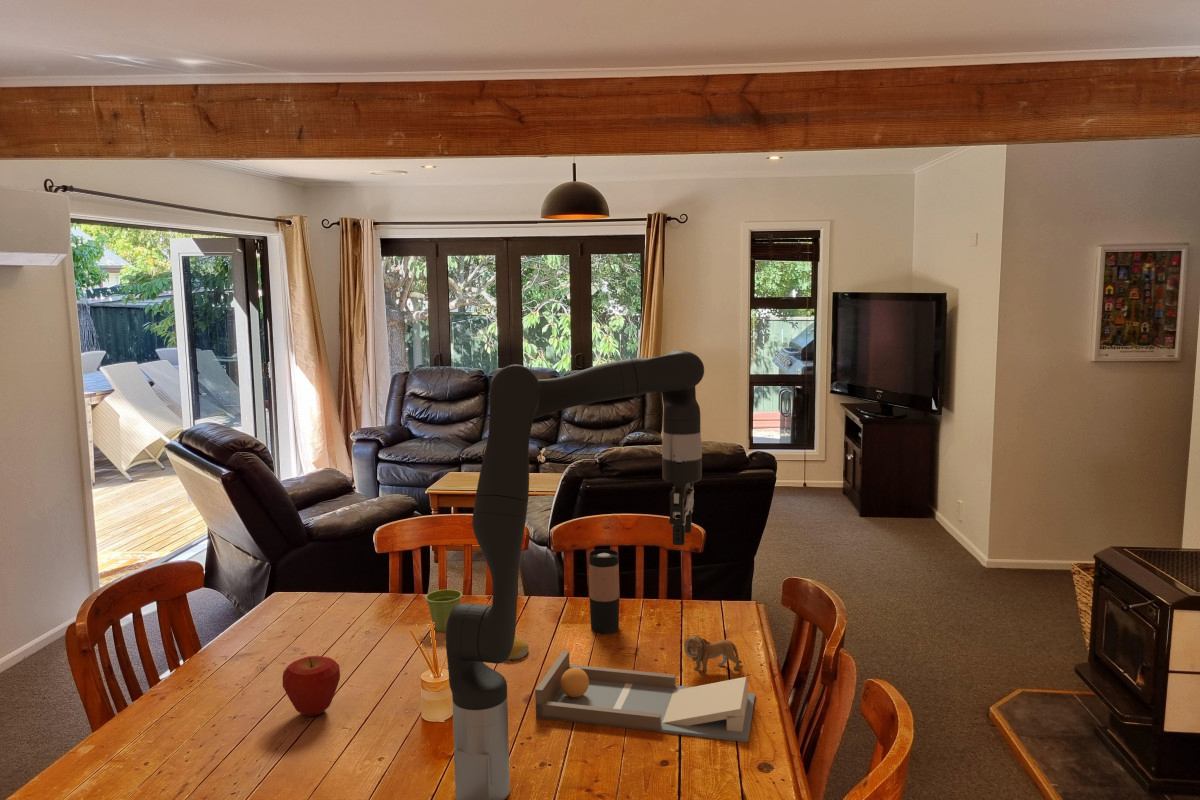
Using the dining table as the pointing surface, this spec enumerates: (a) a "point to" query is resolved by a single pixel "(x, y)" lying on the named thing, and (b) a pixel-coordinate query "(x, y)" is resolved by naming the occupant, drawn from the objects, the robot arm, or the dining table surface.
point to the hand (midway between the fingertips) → (682, 538)
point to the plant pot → (442, 606)
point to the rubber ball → (574, 682)
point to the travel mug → (604, 590)
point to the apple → (311, 683)
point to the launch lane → (648, 702)
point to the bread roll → (518, 649)
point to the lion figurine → (710, 652)
